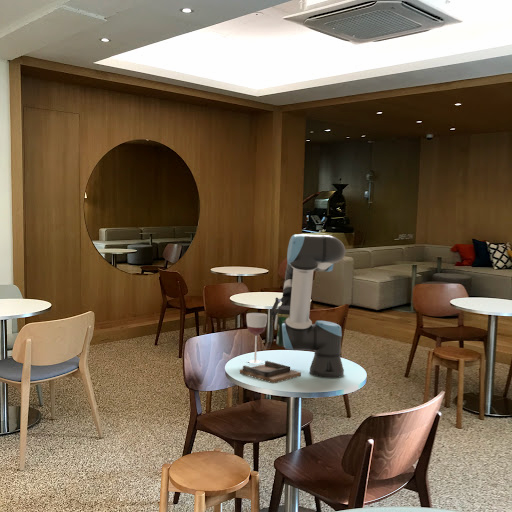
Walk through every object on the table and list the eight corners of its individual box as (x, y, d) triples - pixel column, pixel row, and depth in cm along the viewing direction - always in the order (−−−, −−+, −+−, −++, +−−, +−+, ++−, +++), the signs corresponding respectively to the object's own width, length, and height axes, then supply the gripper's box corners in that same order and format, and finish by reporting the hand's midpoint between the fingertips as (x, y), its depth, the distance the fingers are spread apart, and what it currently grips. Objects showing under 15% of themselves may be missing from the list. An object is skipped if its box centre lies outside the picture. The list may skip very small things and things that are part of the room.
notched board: (300, 375, 248) (301, 368, 248) (273, 383, 235) (273, 374, 235) (267, 366, 262) (267, 359, 262) (239, 373, 249) (240, 365, 249)
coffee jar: (295, 344, 268) (297, 305, 267) (297, 347, 260) (299, 307, 259) (275, 343, 267) (277, 304, 267) (276, 346, 260) (278, 306, 259)
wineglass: (265, 364, 266) (267, 316, 265) (244, 363, 266) (246, 315, 265) (265, 360, 275) (267, 313, 274) (245, 359, 275) (246, 312, 274)
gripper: (313, 297, 276) (310, 334, 261) (269, 294, 280) (263, 331, 265) (313, 287, 271) (310, 325, 256) (267, 284, 274) (262, 322, 259)
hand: (286, 328), depth 260 cm, fingers closed on coffee jar, 9 cm apart
